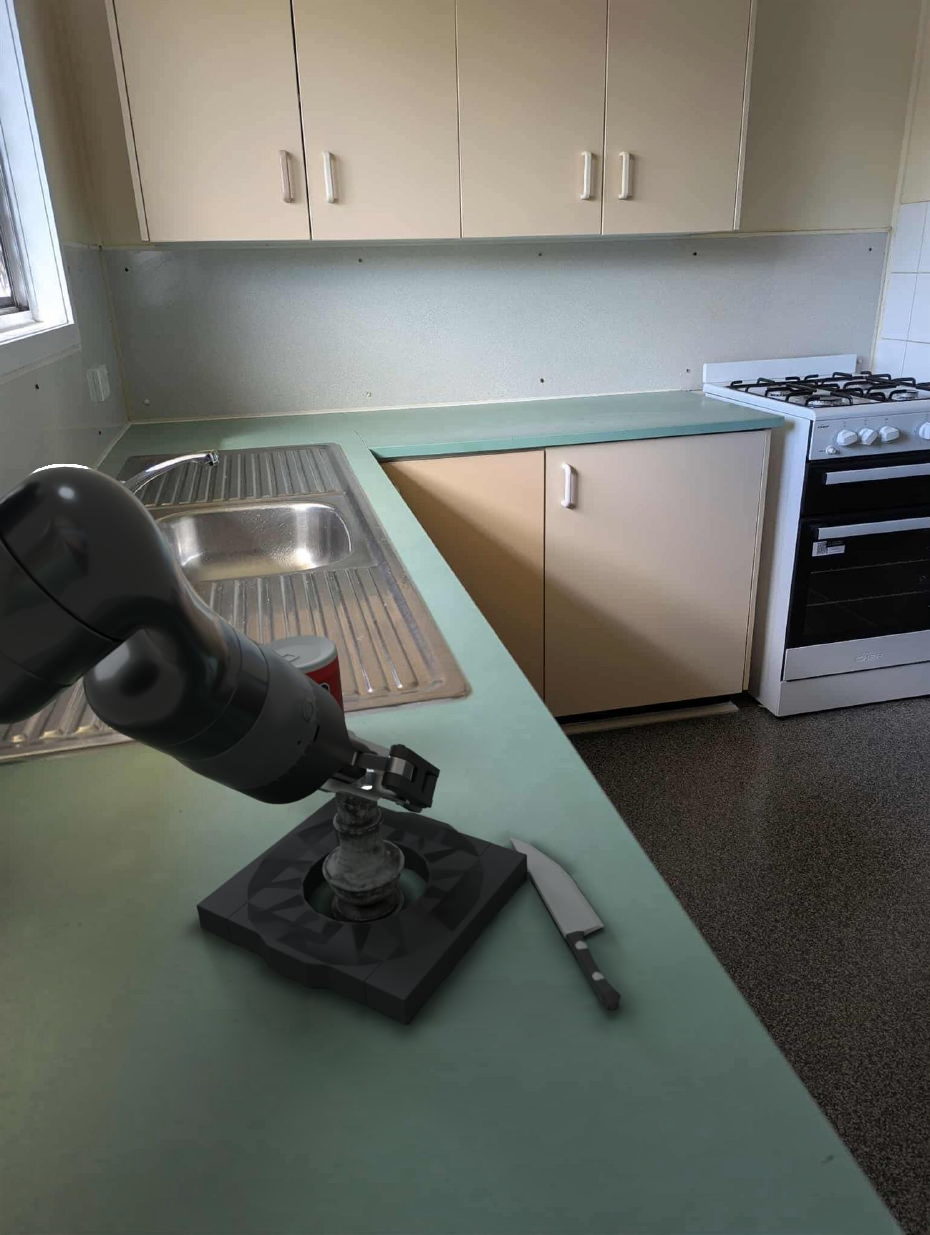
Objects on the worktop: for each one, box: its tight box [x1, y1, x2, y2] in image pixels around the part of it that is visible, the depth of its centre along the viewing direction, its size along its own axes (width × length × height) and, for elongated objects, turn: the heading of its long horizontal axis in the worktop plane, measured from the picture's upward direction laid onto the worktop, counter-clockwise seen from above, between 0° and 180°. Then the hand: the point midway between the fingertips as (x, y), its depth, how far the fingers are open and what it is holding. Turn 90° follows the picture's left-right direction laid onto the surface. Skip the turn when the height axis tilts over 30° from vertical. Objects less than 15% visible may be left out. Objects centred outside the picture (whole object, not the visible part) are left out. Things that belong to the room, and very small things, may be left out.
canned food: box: [264, 634, 346, 720], centre depth 82 cm, size 8×8×11 cm
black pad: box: [196, 795, 529, 1025], centre depth 64 cm, size 18×17×2 cm
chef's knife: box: [509, 836, 622, 1012], centre depth 62 cm, size 19×1×3 cm
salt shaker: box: [322, 771, 405, 923], centre depth 62 cm, size 6×6×12 cm
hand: (366, 787), depth 62 cm, fingers open, 8 cm apart
